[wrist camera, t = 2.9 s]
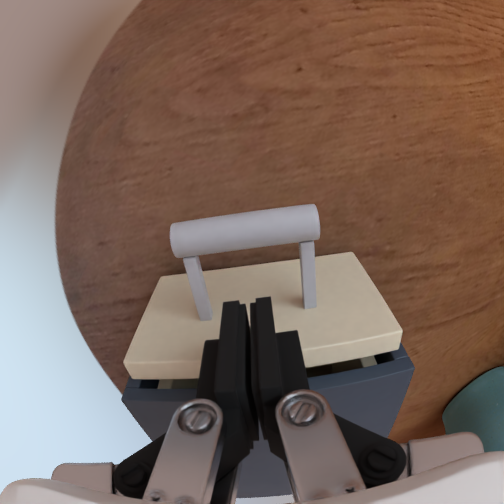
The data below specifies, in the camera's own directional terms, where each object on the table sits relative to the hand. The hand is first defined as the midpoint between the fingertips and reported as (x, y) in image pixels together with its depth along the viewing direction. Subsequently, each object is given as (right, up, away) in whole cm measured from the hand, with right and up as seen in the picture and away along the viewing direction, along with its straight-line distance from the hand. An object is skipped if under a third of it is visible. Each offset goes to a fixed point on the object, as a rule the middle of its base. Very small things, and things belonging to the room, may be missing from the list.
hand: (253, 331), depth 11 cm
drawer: (+1, -2, +10) cm, 10 cm away
